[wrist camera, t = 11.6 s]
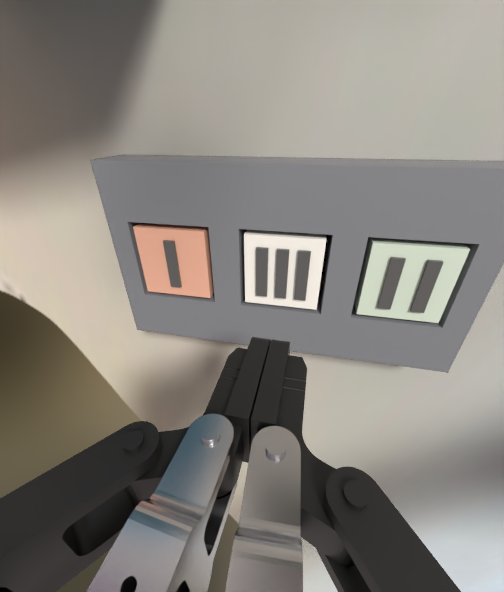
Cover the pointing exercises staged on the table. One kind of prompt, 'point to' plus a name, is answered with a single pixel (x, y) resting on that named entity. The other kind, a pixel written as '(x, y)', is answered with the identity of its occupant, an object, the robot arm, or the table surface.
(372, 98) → the table surface
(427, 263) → the button two
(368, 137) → the table surface
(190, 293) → the button one
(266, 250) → the button three
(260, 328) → the button panel
